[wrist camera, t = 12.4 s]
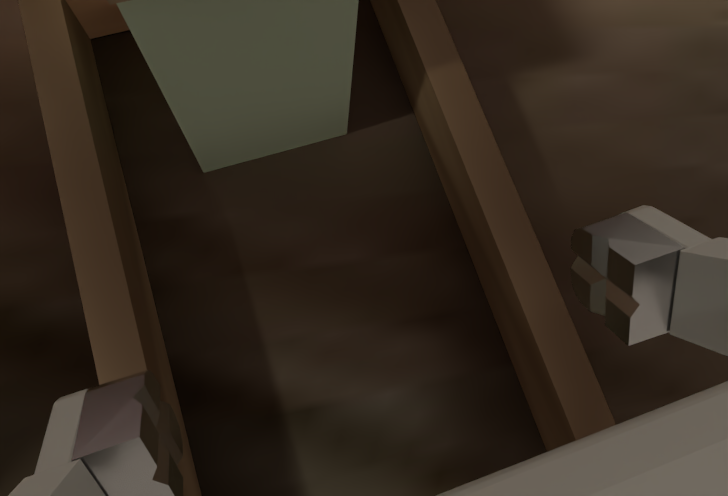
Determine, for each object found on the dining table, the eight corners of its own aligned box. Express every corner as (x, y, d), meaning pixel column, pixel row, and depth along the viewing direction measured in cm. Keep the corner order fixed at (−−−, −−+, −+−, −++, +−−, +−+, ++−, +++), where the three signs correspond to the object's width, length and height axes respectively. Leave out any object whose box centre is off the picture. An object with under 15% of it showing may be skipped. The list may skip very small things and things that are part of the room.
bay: (217, 769, 14) (164, 953, 9) (48, 18, 20) (-40, -107, 15) (641, 584, 16) (777, 661, 11) (380, -55, 22) (397, -187, 17)
